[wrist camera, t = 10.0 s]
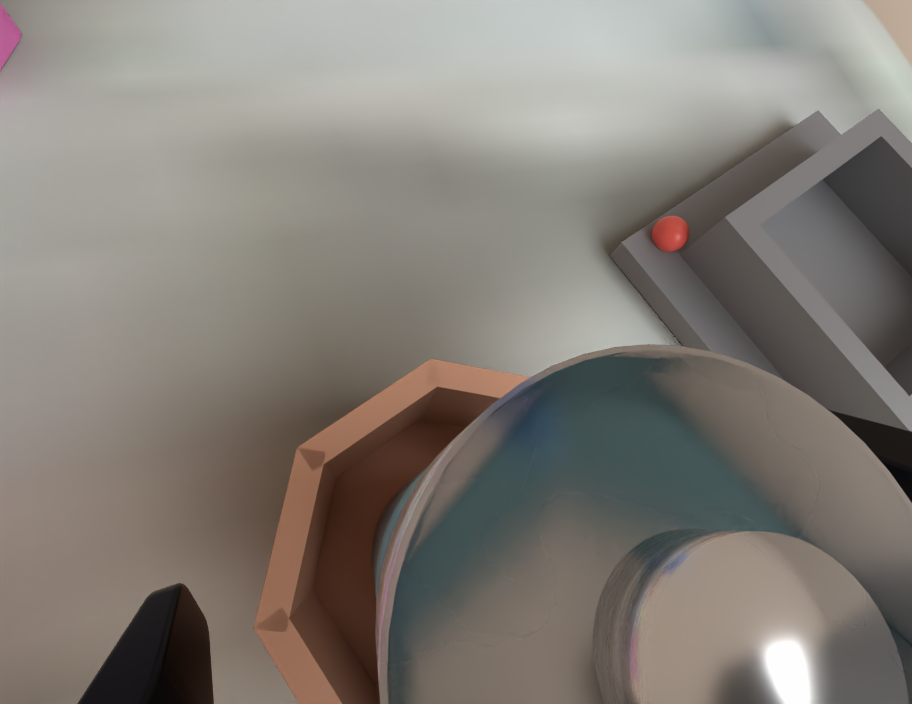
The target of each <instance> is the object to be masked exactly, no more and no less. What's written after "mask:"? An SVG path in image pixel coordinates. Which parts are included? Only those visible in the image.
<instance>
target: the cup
mask: <svg viewBox="0 0 912 704" xmlns="http://www.w3.org/2000/svg"><path fill="white" fill-rule="evenodd" d="M529 378H531V377H525V376H520V375H515V374H509V373H504V372H499V371H493V370H488V369H483V368H478V367H472V366H467V365H462V364H456V363H451V362H446V361H440V360H435V359H430V360H428V361H427V362H425V363H424V364H422V365H421V366H419V367H418V368H416V369H414V370H413V371H411V372H410V373H408V374H407V375H405V376H404V377H402V378H401V379H399V380H398V381H396V382H395V383H393V384H392V385H390V386H389V387H387V388H386V389H384V390H383V391H381V392H380V393H378V394H377V395H375V396H374V397H372V398H371V399H369V400H368V401H366V402H365V403H363V404H362V405H360V406H359V407H357V408H356V409H354V410H353V411H351V412H350V413H348V414H347V415H345V416H344V417H342V418H341V419H339V420H338V421H336V422H335V423H333V424H332V425H330V426H328V427H327V428H325V429H324V430H322V431H321V432H319V433H318V434H316V435H315V436H313V437H312V438H310V439H309V440H307V441H306V442H304V443H303V444H301V445H300V446H298V447H297V449H296V454H295V458H294V462H293V466H292V470H291V474H290V479H289V483H288V487H287V491H286V495H285V499H284V504H283V508H282V512H281V516H280V520H279V524H278V528H277V533H276V537H275V541H274V545H273V549H272V553H271V558H270V562H269V566H268V570H267V574H266V578H265V583H264V587H263V591H262V595H261V599H260V603H259V608H258V612H257V616H256V620H255V624H254V630H255V632H256V633H257V635H258V637H259V638H260V640H261V641H262V643H263V645H264V646H265V648H266V650H267V651H268V653H269V655H270V656H271V658H272V660H273V661H274V663H275V664H276V666H277V668H278V669H279V671H280V673H281V674H282V676H283V678H284V679H285V681H286V683H287V684H288V686H289V687H290V689H291V691H292V692H293V694H294V696H295V697H296V699H297V701H298V702H299V704H380V693H379V680H378V666H377V652H376V638H375V626H376V596H375V587H374V578H373V569H372V558H371V554H372V542H373V536H374V532H375V529H376V525H377V522H378V520H379V518H380V516H381V513H382V512H383V510H384V509H385V507H386V505H387V504H388V502H389V501H390V500H391V499H392V497H393V496H394V495H395V494H396V493H397V492H398V491H399V490H400V489H401V488H403V487H404V486H405V485H406V484H407V483H409V482H410V481H411V480H412V479H413V478H415V477H416V476H417V475H418V474H419V473H421V472H422V471H423V470H424V469H425V468H427V467H428V466H429V465H430V464H431V463H432V462H433V460H434V459H435V458H436V456H437V455H438V454H439V453H440V452H441V451H442V450H443V449H444V448H445V447H446V446H447V445H448V444H449V443H450V442H451V441H452V440H453V439H454V438H455V437H456V436H457V435H459V434H460V433H461V432H462V431H463V430H464V429H465V428H466V427H467V426H469V425H470V424H471V423H472V422H473V421H474V420H475V419H476V418H477V417H479V416H480V415H481V414H482V413H483V412H484V411H485V410H486V409H487V408H489V407H490V406H491V405H492V404H493V403H495V402H496V401H497V400H499V399H500V398H501V397H503V396H504V395H505V394H507V393H508V392H509V391H511V390H512V389H513V388H515V387H516V386H517V385H519V384H520V383H522V382H524V381H525V380H527V379H529Z"/></svg>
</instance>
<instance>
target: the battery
mask: <svg viewBox="0 0 912 704" xmlns="http://www.w3.org/2000/svg"><path fill="white" fill-rule="evenodd" d="M371 558H372V569H373V578H374V587H375V596H376V626H375V638H376V652H377V666H378V680H379V693H380V704H912V503H911V501H910V500H909V498H908V497H907V496H906V494H905V493H904V491H903V490H902V488H901V487H900V486H899V484H898V483H897V481H896V480H895V479H894V477H893V476H892V474H891V473H890V472H889V470H888V469H887V468H886V467H885V466H884V465H883V464H882V462H881V461H880V460H879V459H878V458H877V457H876V455H875V454H874V453H873V452H872V451H871V450H870V449H869V447H868V446H867V445H866V444H865V443H864V442H863V441H862V440H861V439H860V438H859V437H858V436H857V435H856V434H855V433H854V432H852V431H851V430H850V429H849V428H848V427H847V426H846V425H845V424H844V423H843V422H842V421H841V420H840V419H839V418H838V417H836V416H835V415H834V414H832V413H831V412H830V411H828V410H827V409H826V408H825V407H823V406H822V405H821V404H819V403H818V402H817V401H815V400H814V399H813V398H811V397H810V396H809V395H807V394H806V393H804V392H802V391H801V390H799V389H797V388H796V387H794V386H792V385H791V384H789V383H787V382H786V381H784V380H782V379H781V378H779V377H777V376H775V375H773V374H771V373H768V372H766V371H764V370H762V369H760V368H757V367H755V366H753V365H751V364H749V363H746V362H743V361H740V360H737V359H734V358H731V357H728V356H725V355H721V354H718V353H715V352H710V351H705V350H699V349H694V348H689V347H683V346H668V345H650V344H648V345H636V346H623V347H614V348H610V349H605V350H601V351H596V352H592V353H587V354H583V355H580V356H577V357H575V358H572V359H569V360H567V361H564V362H562V363H559V364H556V365H554V366H551V367H549V368H547V369H546V370H544V371H542V372H540V373H538V374H536V375H535V376H533V377H531V378H529V379H527V380H525V381H524V382H522V383H520V384H519V385H517V386H516V387H515V388H513V389H512V390H511V391H509V392H508V393H507V394H505V395H504V396H503V397H501V398H500V399H499V400H497V401H496V402H495V403H493V404H492V405H491V406H490V407H489V408H487V409H486V410H485V411H484V412H483V413H482V414H481V415H480V416H479V417H477V418H476V419H475V420H474V421H473V422H472V423H471V424H470V425H469V426H467V427H466V428H465V429H464V430H463V431H462V432H461V433H460V434H459V435H457V436H456V437H455V438H454V439H453V440H452V441H451V442H450V443H449V444H448V445H447V446H446V447H445V448H444V449H443V450H442V451H441V452H440V453H439V454H438V455H437V456H436V458H435V459H434V460H433V462H432V463H431V464H430V465H429V466H428V467H427V468H425V469H424V470H423V471H422V472H421V473H419V474H418V475H417V476H416V477H415V478H413V479H412V480H411V481H410V482H409V483H407V484H406V485H405V486H404V487H403V488H401V489H400V490H399V491H398V492H397V493H396V494H395V495H394V496H393V497H392V499H391V500H390V501H389V502H388V504H387V505H386V507H385V509H384V510H383V512H382V513H381V516H380V518H379V520H378V522H377V525H376V529H375V532H374V536H373V542H372V554H371Z"/></svg>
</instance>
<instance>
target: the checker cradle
mask: <svg viewBox="0 0 912 704" xmlns="http://www.w3.org/2000/svg"><path fill="white" fill-rule="evenodd" d="M609 256H610V257H611V258H612V259H613V261H614V262H615V263H616V264H617V265H618V267H619V268H620V269H621V270H622V272H623V273H624V274H625V275H626V277H627V278H628V279H629V280H630V281H631V283H632V284H633V285H634V286H635V288H636V289H637V290H638V291H639V293H640V294H641V295H642V296H643V297H644V299H645V300H646V301H647V302H648V304H649V305H650V306H651V307H652V309H653V310H654V311H655V312H656V313H657V315H658V316H659V317H660V318H661V320H662V321H663V322H664V323H665V325H666V326H667V327H668V328H669V329H670V331H671V332H672V333H673V334H674V336H675V337H676V338H677V339H678V341H679V342H680V343H681V344H682V345H683V347H689V348H694V349H699V350H705V351H710V352H715V353H718V354H721V355H725V356H728V357H731V358H734V359H737V360H740V361H743V362H746V363H749V364H751V365H753V366H755V367H757V368H760V369H762V370H764V371H766V372H768V373H771V374H773V375H775V376H777V377H779V378H781V379H782V380H784V381H786V382H787V383H789V384H791V385H792V386H794V387H796V388H797V389H799V390H801V391H802V392H804V393H806V394H807V395H809V396H810V397H811V398H813V399H814V400H815V401H817V402H818V403H819V404H821V405H822V406H823V407H825V408H826V409H828V410H832V411H835V412H839V413H843V414H847V415H851V416H854V417H858V418H862V419H866V420H870V421H874V422H877V423H881V424H885V425H889V426H893V427H896V428H900V429H904V430H908V431H912V143H911V142H910V141H909V140H908V139H907V138H906V137H905V136H904V135H903V134H902V133H901V132H900V131H899V130H898V129H897V128H896V126H895V125H894V124H893V123H892V122H891V121H890V120H889V119H888V118H887V117H886V116H885V115H884V114H883V113H882V112H881V111H880V110H879V109H878V110H876V111H875V112H873V113H872V114H871V115H869V116H868V117H866V118H865V119H863V120H862V121H861V122H859V123H858V124H856V125H855V126H854V127H852V128H851V129H849V130H848V131H846V132H845V133H844V134H842V135H841V134H840V133H839V132H838V131H837V130H836V129H835V128H834V127H833V126H832V125H831V124H830V122H829V121H828V120H827V119H826V118H825V117H824V116H823V115H822V114H821V113H820V112H819V111H816V112H815V113H814V114H812V115H811V116H809V117H808V118H806V119H805V120H803V121H802V122H800V123H799V124H797V125H796V126H794V127H793V128H791V129H790V130H788V131H787V132H785V133H784V134H782V135H781V136H779V137H778V138H776V139H775V140H773V141H772V142H770V143H769V144H767V145H766V146H764V147H763V148H761V149H760V150H758V151H757V152H755V153H754V154H752V155H751V156H749V157H748V158H746V159H745V160H743V161H742V162H740V163H739V164H737V165H736V166H734V167H733V168H731V169H730V170H728V171H727V172H725V173H724V174H722V175H721V176H719V177H718V178H716V179H715V180H713V181H712V182H711V183H709V184H708V185H706V186H705V187H703V188H702V189H700V190H699V191H697V192H696V193H694V194H693V195H691V196H690V197H688V198H687V199H685V200H684V201H682V202H681V203H679V204H678V205H676V206H675V207H673V208H672V209H670V210H669V211H667V212H666V213H664V214H663V215H661V216H660V217H658V218H657V219H655V220H654V221H652V222H651V223H649V224H648V225H646V226H645V227H643V228H642V229H640V230H639V231H637V232H636V233H634V234H633V235H631V236H630V237H628V238H627V239H625V240H624V241H622V242H621V243H620V244H619V245H618V246H617V248H616V249H615V250H614V251H613V252H612V253H611V254H610V255H609Z"/></svg>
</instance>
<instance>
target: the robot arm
mask: <svg viewBox="0 0 912 704" xmlns="http://www.w3.org/2000/svg"><path fill="white" fill-rule="evenodd" d="M827 410H828V409H827ZM828 411H830V412H831V413H832V414H834V415H835V416H836V417H838V418H839V419H840V420H841V421H842V422H843V423H844V424H845V425H846V426H847V427H848V428H849V429H850V430H851V431H852V432H854V433H855V434H856V435H857V436H858V437H859V438H860V439H861V440H862V441H863V442H864V443H865V444H866V445H867V446H868V447H869V449H870V450H871V451H872V452H873V453H874V454H875V455H876V457H877V458H878V459H879V460H880V461H881V462H882V464H883V465H884V466H885V467H886V468H887V469H888V470H889V472H890V473H891V474H892V476H893V477H894V479H895V480H896V481H897V483H898V484H899V486H900V487H901V488H902V490H903V491H904V493H905V494H906V496H907V497H908V498H909V500H910V501H911V503H912V431H908V430H904V429H900V428H896V427H893V426H889V425H885V424H881V423H877V422H874V421H870V420H866V419H862V418H858V417H854V416H851V415H847V414H843V413H839V412H835V411H832V410H828ZM78 704H214V700H213V685H212V670H211V655H210V640H209V630H208V625H207V621H206V619H205V616H204V615H203V613H202V611H201V610H200V608H199V606H198V604H197V603H196V601H195V599H194V598H193V596H192V594H191V593H190V591H189V589H188V588H187V587H186V586H185V585H184V584H182V583H177V584H174V585H172V586H169V587H166V588H163V589H160V590H157V591H154V592H153V593H151V594H150V595H149V596H148V597H147V598H146V600H145V601H144V603H143V604H142V606H141V607H140V609H139V610H138V612H137V613H136V615H135V617H134V618H133V620H132V621H131V623H130V624H129V626H128V627H127V629H126V630H125V632H124V633H123V635H122V636H121V638H120V639H119V641H118V642H117V644H116V646H115V647H114V649H113V650H112V652H111V653H110V655H109V656H108V658H107V659H106V661H105V662H104V664H103V665H102V667H101V668H100V670H99V671H98V673H97V675H96V676H95V678H94V679H93V681H92V682H91V684H90V685H89V687H88V688H87V690H86V691H85V693H84V694H83V696H82V697H81V699H80V700H79V702H78Z"/></svg>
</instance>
